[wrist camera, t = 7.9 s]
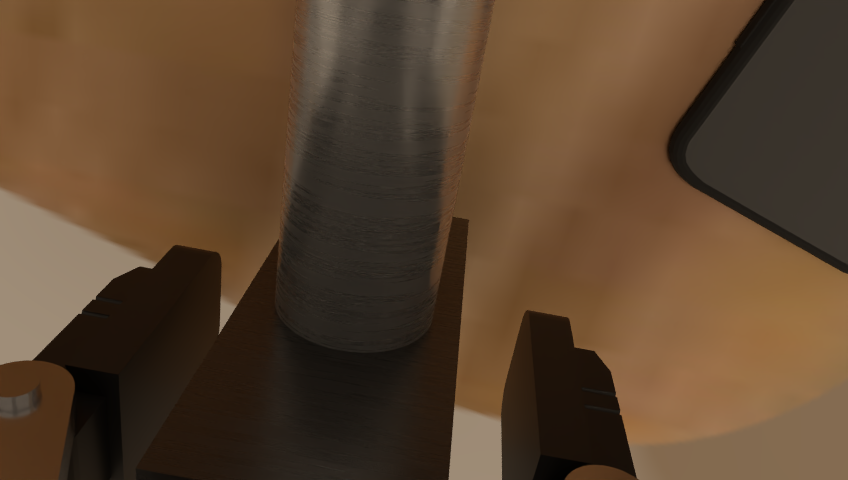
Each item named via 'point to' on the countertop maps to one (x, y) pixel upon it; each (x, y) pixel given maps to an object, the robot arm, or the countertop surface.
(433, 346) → the shaft
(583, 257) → the countertop surface
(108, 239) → the countertop surface
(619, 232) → the countertop surface
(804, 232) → the smartphone
